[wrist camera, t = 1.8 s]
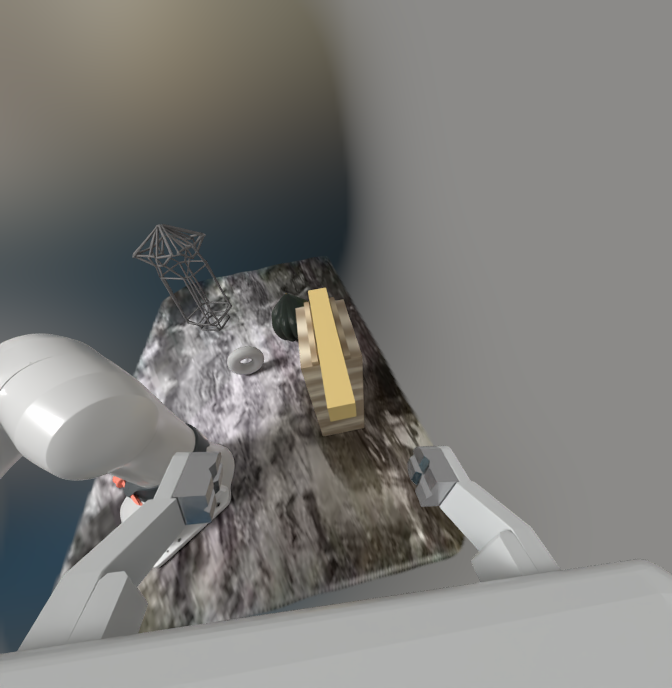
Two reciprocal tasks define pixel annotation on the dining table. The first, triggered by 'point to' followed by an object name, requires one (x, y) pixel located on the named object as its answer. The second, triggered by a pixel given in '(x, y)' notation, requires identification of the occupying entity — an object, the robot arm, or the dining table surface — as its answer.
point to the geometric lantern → (177, 234)
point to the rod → (331, 359)
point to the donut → (243, 354)
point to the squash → (287, 316)
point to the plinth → (313, 368)
